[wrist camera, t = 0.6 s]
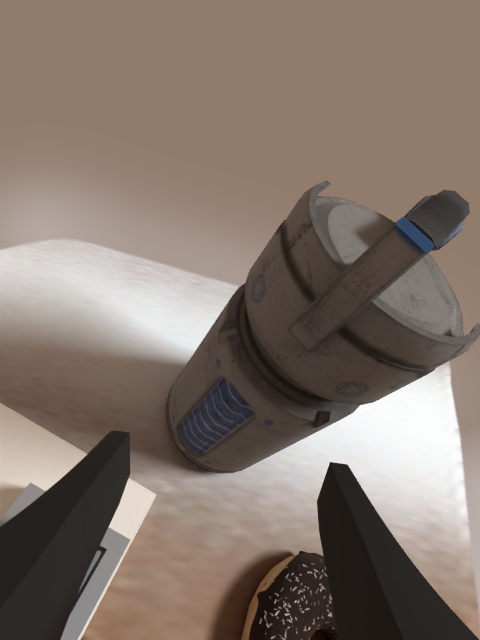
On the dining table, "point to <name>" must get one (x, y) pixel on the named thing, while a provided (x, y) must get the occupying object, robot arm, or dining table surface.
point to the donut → (292, 602)
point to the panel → (42, 473)
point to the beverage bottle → (320, 329)
